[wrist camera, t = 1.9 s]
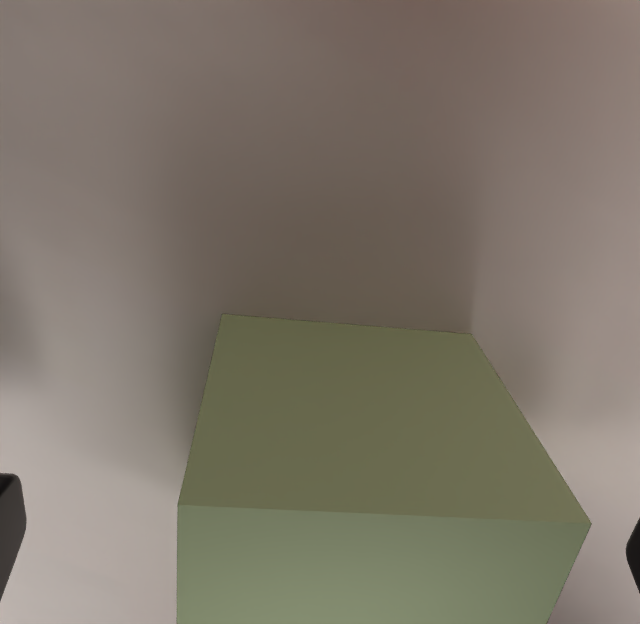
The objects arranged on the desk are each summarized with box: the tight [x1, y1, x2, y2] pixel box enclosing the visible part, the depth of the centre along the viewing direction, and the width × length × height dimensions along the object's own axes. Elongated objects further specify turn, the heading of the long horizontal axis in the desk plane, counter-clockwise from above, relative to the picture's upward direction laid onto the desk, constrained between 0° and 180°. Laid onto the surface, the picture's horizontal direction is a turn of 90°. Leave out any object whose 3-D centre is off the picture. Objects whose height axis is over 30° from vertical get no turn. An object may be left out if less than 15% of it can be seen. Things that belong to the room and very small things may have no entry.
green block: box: [177, 314, 592, 624], centre depth 8 cm, size 4×4×4 cm
